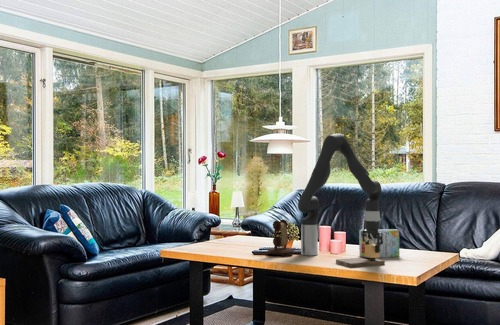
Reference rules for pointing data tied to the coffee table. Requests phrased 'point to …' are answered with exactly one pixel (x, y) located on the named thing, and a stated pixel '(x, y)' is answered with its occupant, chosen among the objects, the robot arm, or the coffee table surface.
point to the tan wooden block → (371, 251)
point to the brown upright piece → (280, 239)
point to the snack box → (384, 243)
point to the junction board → (360, 262)
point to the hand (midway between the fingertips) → (372, 251)
